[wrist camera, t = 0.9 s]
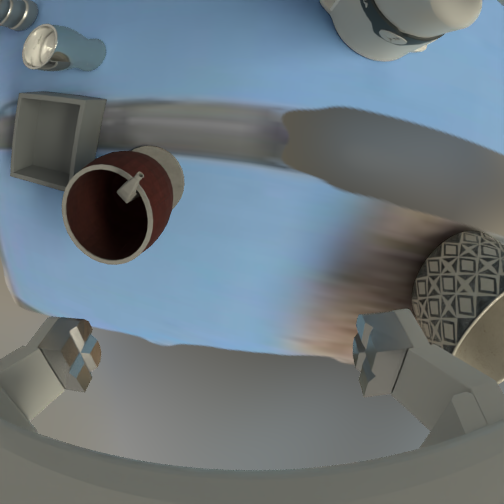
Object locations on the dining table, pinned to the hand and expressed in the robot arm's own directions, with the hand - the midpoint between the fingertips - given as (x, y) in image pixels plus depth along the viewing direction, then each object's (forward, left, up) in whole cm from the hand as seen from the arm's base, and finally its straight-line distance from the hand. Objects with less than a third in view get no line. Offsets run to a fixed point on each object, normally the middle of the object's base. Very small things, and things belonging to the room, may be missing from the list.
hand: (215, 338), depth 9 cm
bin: (+6, -33, -42) cm, 54 cm away
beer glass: (-9, -31, -42) cm, 54 cm away
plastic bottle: (-17, -50, -42) cm, 68 cm away
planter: (+10, +48, -42) cm, 64 cm away
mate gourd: (+10, -14, -42) cm, 46 cm away
